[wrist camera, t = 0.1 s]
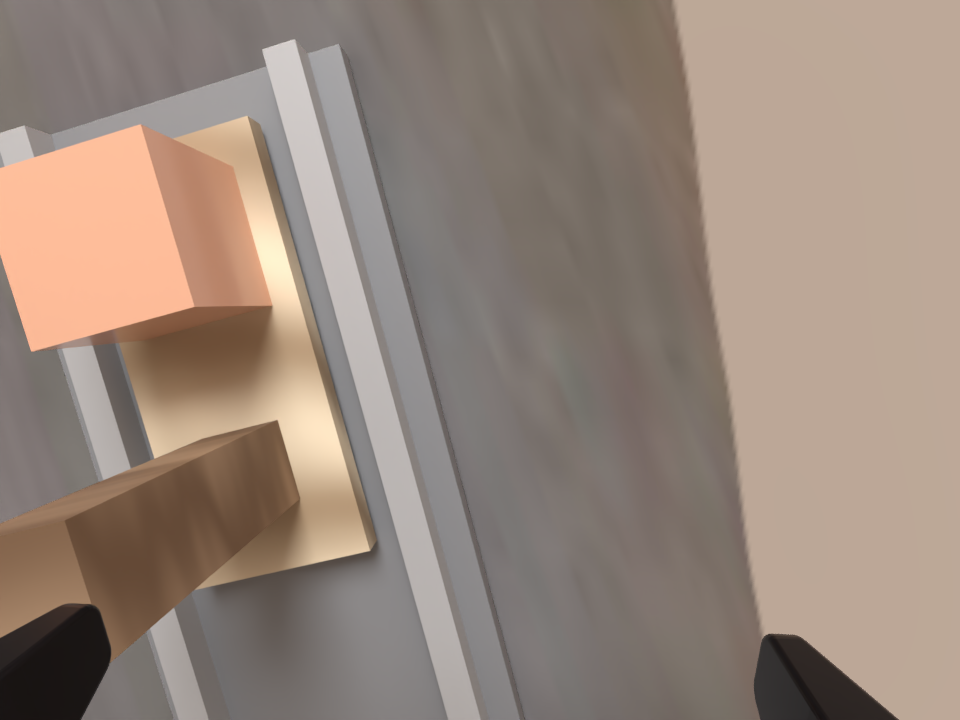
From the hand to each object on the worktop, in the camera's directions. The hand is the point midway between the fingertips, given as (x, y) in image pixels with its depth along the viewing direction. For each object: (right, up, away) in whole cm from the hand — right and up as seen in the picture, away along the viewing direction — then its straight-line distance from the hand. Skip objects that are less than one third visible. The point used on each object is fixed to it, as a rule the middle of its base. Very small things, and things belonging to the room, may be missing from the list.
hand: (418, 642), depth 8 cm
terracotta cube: (-10, +8, +13) cm, 18 cm away
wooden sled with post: (-8, +4, +15) cm, 17 cm away
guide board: (-7, -1, +16) cm, 18 cm away
